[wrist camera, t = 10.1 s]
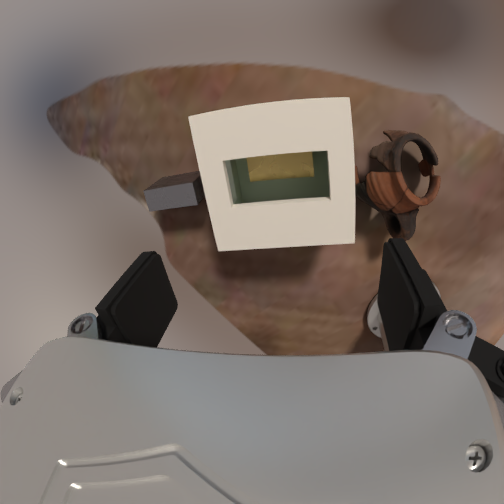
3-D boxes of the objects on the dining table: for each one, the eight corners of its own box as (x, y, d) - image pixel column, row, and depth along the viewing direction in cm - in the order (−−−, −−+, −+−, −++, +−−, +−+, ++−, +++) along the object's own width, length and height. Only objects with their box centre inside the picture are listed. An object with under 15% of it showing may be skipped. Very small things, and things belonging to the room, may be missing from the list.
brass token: (311, 164, 29) (314, 176, 24) (256, 168, 30) (250, 181, 26) (309, 141, 27) (312, 150, 23) (253, 147, 29) (246, 156, 24)
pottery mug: (331, 144, 28) (375, 129, 20) (389, 134, 30) (435, 122, 22) (357, 246, 31) (404, 258, 23) (410, 223, 32) (456, 229, 25)
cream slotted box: (338, 200, 31) (354, 243, 23) (238, 208, 33) (218, 251, 25) (331, 97, 25) (349, 97, 16) (220, 109, 27) (188, 116, 19)
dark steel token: (210, 189, 33) (197, 204, 28) (166, 195, 34) (149, 211, 30) (206, 169, 31) (192, 182, 27) (162, 177, 33) (143, 191, 28)
